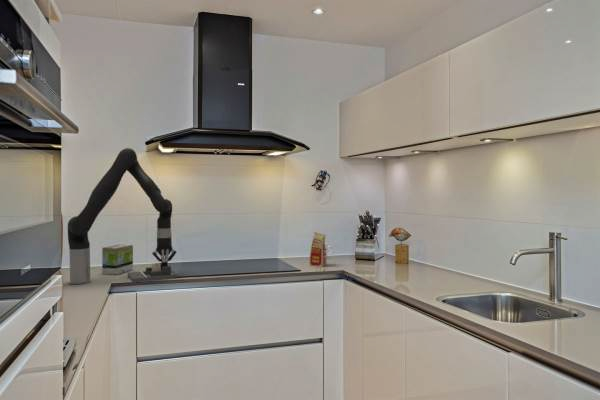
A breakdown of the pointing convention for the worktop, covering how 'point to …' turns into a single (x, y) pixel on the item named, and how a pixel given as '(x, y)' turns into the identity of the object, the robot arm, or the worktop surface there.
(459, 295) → the worktop surface
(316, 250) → the red food bag
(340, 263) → the worktop surface
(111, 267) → the tea box
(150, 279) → the breaker panel
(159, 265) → the breaker
